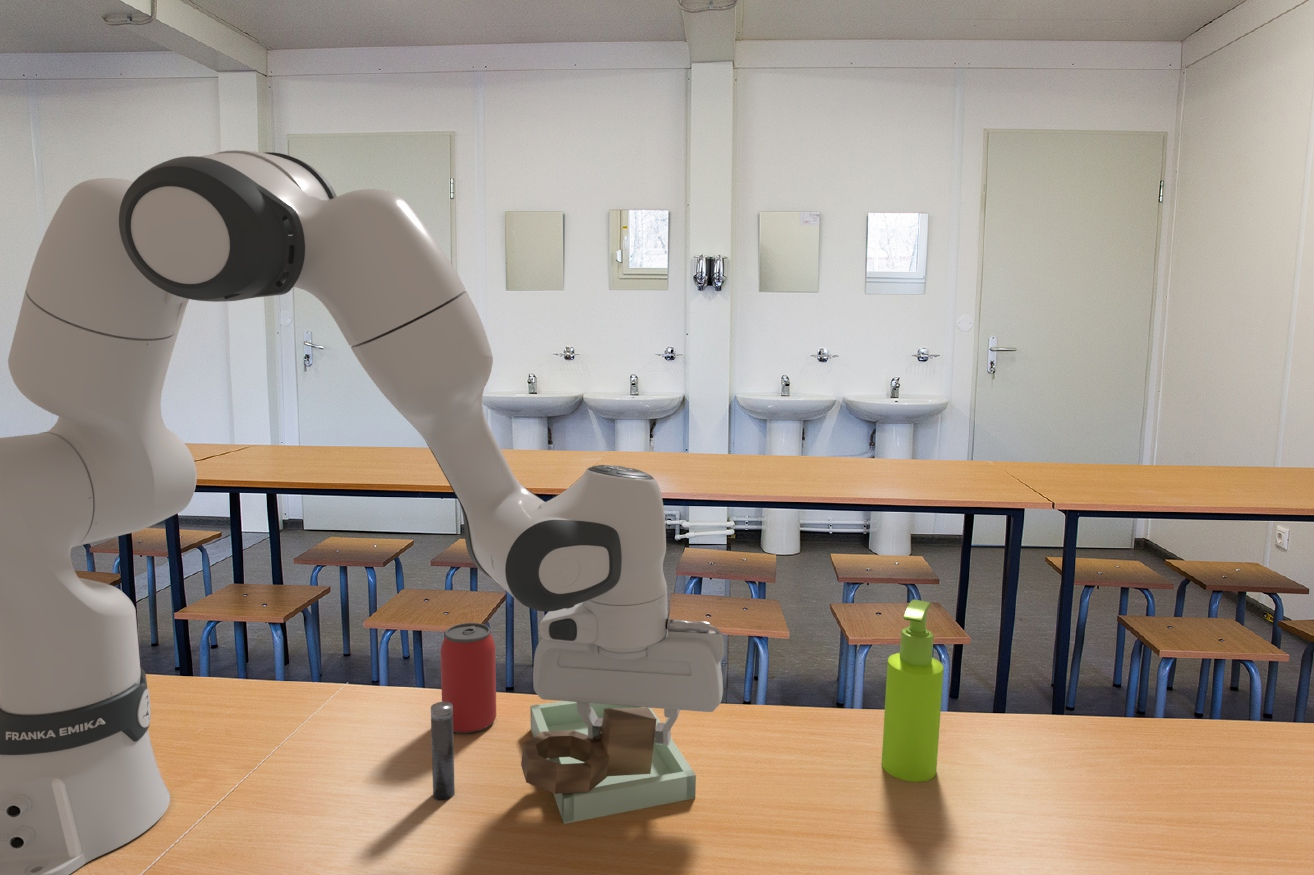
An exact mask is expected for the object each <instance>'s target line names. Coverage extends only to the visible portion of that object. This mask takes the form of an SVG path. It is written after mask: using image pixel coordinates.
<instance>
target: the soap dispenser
mask: <svg viewBox="0 0 1314 875" xmlns="http://www.w3.org/2000/svg"><path fill="white" fill-rule="evenodd" d="M930 607H931V602H929V601H925V600H918V599H912V600H910V602H909V603H908V605H907V607H906V610H905V612H904V615H903V620H904V621H908V622H909V626H907V627H904V628H902V629H901V632H900V646H899V652H896V653H893V654H891V655H889V656H888V658H887V668H886V683H885V698H884V699H885V700H884V701H885V702H884V716H883V730H882V731H883V732H882V746H881V747H882V750H881V766H882V767H881V768H882V769H883V770H884V771H885V772H886V773H888V775H890V776H891V777H894V778H896V779H900V780H901V781H902V780H903V781H906V782H914V783H918V782H919V783H921V782H922V783H923V782H927V781H931V779H933V778H935V777H936V775H937V765H938V755H939V753H938V752H939V751H938V750H939V738H940V737H939V736H940V724H941V711H942V710H941V709H942V698H943V697H942V696H943V681H944V680H943V679H944V665H943V664H942V662H941V661H939V660H938V659H936V658H934V657H933V648H934V647H933V646H934V633H933V632H932V631H931V630H929V629H927V616H928V611H929V610H930Z"/></svg>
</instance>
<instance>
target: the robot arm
mask: <svg viewBox="0 0 1314 875" xmlns="http://www.w3.org/2000/svg"><path fill="white" fill-rule="evenodd" d="M51 218H52V219H51V220H50V223H49V225H48V227H47V228H46V230H45V232H44V235H43V238H42V239H41V241H40V245H39V247H38V248H37V252H36V254H35V257H34V261H33V263H32V266H31V268H30V273H29V276H28V280H27V283H26V287H25V291H24V294H23V297H22V298H23V299H22V302H21V306H20V311H19V313H18V315H19V316H18V319H17V323H16V327H15V331H14V335H13V338H12V342H11V345H10V350H9V354H8V359H7V364H8V369H9V373H10V376H11V378H12V380H13V383H14V385H15V386H16V388H17V389H18V390H19V392H20V393H21V394H22V395H23V396H24V397H25V398H26V399H28V401H30V402H31V403H33V404H34V405H36V406H38V407H39V408H41V409H43V410H45V411H46V412H48V413H50V414H52V415H55V416H56V417H58V418H57V420H56V422H55V424H54V425H53V426H52V427H51V428H50V429H49V430H47V431H43V432H39V433H35V434H33V433H32V434H23V435H17V436H16V435H14V436H7V437H6V436H5V437H0V875H71V874H72V873H73V872H75V871H76V870H78V869H79V868H81V867H82V866H84V865H85V864H87V863H88V862H91V861H92V860H94V859H96V858H98V857H100V856H103V855H105V854H108V853H110V852H112V851H114V850H116V849H118V848H120V847H122V846H124V845H125V844H128V843H129V842H131V841H133V840H134V839H136V838H138V837H139V836H140V835H142V834H143V833H145V832H146V831H147V830H149V829H150V828H151V827H152V826H154V825H155V824H156V823H157V822H158V821H159V820H160V819H161V818H162V816H163V815H164V814H165V813H166V812H167V809H168V807H169V805H170V804H171V803H170V802H171V792H170V791H169V788H168V787H167V785H166V784H165V781H164V779H163V777H162V775H161V771H160V769H159V766H158V763H157V760H156V757H155V753H154V749H153V746H152V742H151V738H150V737H151V736H150V733H149V732H150V731H149V727H150V723H151V715H152V714H151V712H152V711H151V698H150V690H149V688H148V682H147V674H146V672H145V670H144V669H143V668H141V659H140V647H139V635H138V623H137V612H136V607H135V605H134V603H133V601H132V600H131V599H130V598H129V597H128V596H127V595H126V594H125V593H124V592H123V591H122V590H121V589H119V588H117V587H116V586H115V585H114V586H113V585H111V584H108V583H105V582H102V581H98V580H93V579H92V580H91V579H87V578H82V577H79V576H78V574H77V573H76V570H75V569H74V565H73V563H72V555H71V551H72V548H74V547H78V546H83V545H86V544H90V543H95V542H100V541H102V540H104V541H105V540H108V539H112V538H116V537H119V536H124V535H127V534H128V535H129V534H132V533H136V532H140V531H143V530H145V529H147V528H150V527H151V526H154V525H156V524H159V523H160V522H162V521H164V520H167V519H169V518H170V517H173V516H175V515H178V514H179V513H181V512H182V511H184V510H185V509H186V508H187V507H188V505H189V504H190V502H191V501H192V499H193V496H194V493H195V490H196V485H197V482H198V481H197V480H198V479H197V478H198V476H197V475H198V473H197V466H196V462H195V459H194V456H193V454H192V453H191V451H190V449H189V448H188V446H187V445H186V444H185V442H184V441H183V440H182V439H181V438H180V437H179V436H178V435H177V434H176V433H174V432H172V431H171V430H170V429H169V428H168V427H167V426H166V424H165V423H164V420H163V416H162V410H161V408H162V406H161V402H162V391H163V388H164V384H165V380H166V376H167V372H168V369H169V366H170V362H171V358H172V355H173V351H174V348H175V345H176V341H177V339H178V335H179V332H180V329H181V326H182V323H183V319H184V315H185V314H186V313H185V312H186V309H187V305H188V303H189V301H190V300H191V301H192V300H193V301H199V302H200V301H201V302H214V303H216V302H221V303H224V302H236V301H242V300H243V301H244V300H248V299H255V298H264V297H272V296H281V295H285V294H287V293H289V292H291V290H292V289H293V288H297V289H300V290H304V291H305V292H308V293H309V294H311V295H313V296H314V297H315V298H317V300H318V301H319V302H320V303H322V304H323V306H324V307H325V308H326V309H327V311H328V313H329V314H330V315H331V317H332V318H333V320H334V321H335V323H336V324H337V327H338V328H339V330H340V332H341V334H342V335H343V337H344V339H345V341H346V342H347V344H348V345H349V347H350V349H351V351H352V352H353V354H354V356H355V357H356V359H357V360H358V362H359V363H360V365H361V366H362V368H363V370H364V371H365V373H367V375H368V377H369V378H370V379H371V380H372V382H373V384H374V385H375V386H376V387H377V388H378V390H379V391H380V392H381V393H382V395H383V396H384V397H385V398H386V399H387V400H388V402H390V404H391V405H392V406H393V407H394V408H395V409H396V410H397V411H398V413H399V414H401V416H402V417H403V418H404V419H405V420H406V421H408V422H409V424H411V425H412V427H413V428H414V429H415V430H416V431H417V433H418V434H419V435H420V436H421V438H422V439H423V440H424V441H425V443H426V445H427V447H428V449H429V450H430V451H431V453H432V455H433V457H434V459H435V461H436V462H437V464H438V466H439V468H440V470H441V471H442V473H443V475H444V476H445V479H446V481H447V482H448V484H449V485H450V488H451V489H452V491H453V493H454V495H455V497H456V499H457V500H458V503H459V505H460V508H461V513H462V520H463V531H464V539H465V546H466V550H467V553H468V556H469V558H470V560H471V562H472V563H473V564H474V566H475V567H476V569H478V570H479V571H481V572H482V573H483V574H485V575H486V576H487V577H489V578H490V579H492V580H494V581H495V582H496V584H497V583H498V585H499V586H500V587H501V588H503V590H505V591H506V592H507V593H508V594H509V595H510V596H511V597H512V598H514V599H515V600H516V601H517V602H519V603H521V604H522V605H523V606H525V607H526V608H528V609H531V610H533V611H537V612H545V613H546V614H545V615H544V617H543V618H542V619H541V621H540V622H539V627H538V628H539V634H540V638H541V640H540V641H539V642H538V644H537V646H536V648H535V652H534V658H533V672H532V676H533V677H532V682H533V684H532V685H533V691H534V692H535V693H536V695H537V696H538V697H539V698H540V699H541V700H544V701H545V700H546V701H556V702H560V701H570V702H577V711H578V713H579V714H580V716H581V717H582V719H583V720H584V722H585V723H586V725H588V738H589V739H593V740H601V736H602V735H601V732H602V723H603V718H598V717H597V715H596V713H595V711H594V709H593V708H592V704H593V703H596V704H609V705H622V706H635V707H648V708H651V709H662V710H663V711H664V712H663V714H664V715H663V716H664V717H665V718H667V719H666V720H665V722H661V723H657V725H656V729H655V730H654V737H655V745H665V746H669V743H670V740H671V739H672V727H673V726H674V724H675V723H676V721H677V720H678V717H679V715H680V711H687V712H688V711H690V712H703V713H712V712H714V711H715V710H716V709H717V708H718V707H719V706H720V705H721V702H722V699H723V694H724V683H723V681H724V679H723V673H722V664H721V661H722V660H723V659H724V656H725V650H726V649H725V648H726V646H725V637H724V635H723V633H722V631H721V630H720V629H719V628H717V627H716V626H713V625H711V623H710V621H709V622H708V621H705V620H697V621H690V620H685V619H674V618H673V619H672V618H668V615H669V614H668V586H667V581H666V579H665V578H666V577H665V575H664V566H663V565H664V560H665V556H666V552H667V538H666V537H667V534H666V519H665V508H664V502H663V497H662V492H661V488H660V486H659V483H658V481H657V479H655V478H654V477H653V476H652V475H650V474H648V472H645V471H643V470H639V469H636V468H631V467H625V466H620V465H612V464H610V465H609V464H606V465H605V464H601V465H593V466H590V467H588V468H586V470H585V472H583V474H582V476H581V477H579V479H577V481H575V482H574V483H573V484H572V485H571V486H570V487H568V488H567V489H566V490H564V491H563V492H561V493H560V494H558V495H557V496H554V497H553V498H551V499H549V500H547V501H545V500H543V499H542V498H541V497H539V496H538V495H536V494H535V493H533V492H532V491H530V490H529V489H527V488H526V487H525V486H524V485H523V484H522V483H520V481H518V479H517V478H516V476H515V475H514V473H513V471H512V469H511V467H510V465H509V463H508V461H507V460H506V457H505V455H504V453H503V451H502V449H501V447H500V446H499V445H500V444H498V441H497V440H496V437H495V435H494V434H493V432H492V429H491V428H490V425H489V424H488V421H487V419H486V416H485V413H484V408H483V394H484V390H485V387H486V385H487V383H488V381H489V379H490V376H491V374H492V368H493V364H494V363H493V362H494V356H493V353H492V350H491V346H490V343H489V340H488V337H487V333H486V330H485V327H484V325H483V322H482V319H481V317H480V315H479V313H478V311H477V308H476V307H475V304H474V302H473V301H472V298H471V297H470V295H469V293H468V291H467V290H466V287H465V285H464V284H463V282H462V280H461V278H460V277H459V275H458V273H457V272H456V269H455V268H454V266H453V265H452V263H451V261H450V260H449V257H447V255H446V253H445V252H444V251H443V249H442V247H441V246H440V244H439V243H438V242H437V240H436V238H435V237H434V236H433V235H432V233H431V231H430V230H429V229H428V227H427V226H426V224H425V223H424V222H423V221H422V219H420V218H421V217H419V215H417V213H416V212H415V211H414V209H412V207H411V206H410V205H409V204H408V203H407V201H405V200H404V199H403V198H402V197H400V196H399V195H397V194H396V193H393V192H391V191H389V190H384V189H375V188H372V189H371V188H367V189H366V188H365V189H364V188H363V189H359V190H357V189H356V190H352V191H349V192H345V193H343V194H340V195H337V193H336V192H335V189H334V188H333V187H332V185H331V184H330V182H329V181H328V180H327V179H326V178H325V176H324V175H322V174H321V172H319V171H318V170H317V169H315V168H314V167H313V166H312V165H310V164H309V163H307V162H305V161H303V160H300V159H299V158H296V157H294V156H291V155H288V154H285V153H280V152H270V151H269V152H266V151H264V152H262V151H261V152H260V151H252V150H239V149H237V150H224V151H219V152H215V153H212V154H205V155H200V156H194V155H191V156H189V155H188V156H180V157H175V158H171V159H168V160H166V161H163V162H161V163H158V164H156V165H154V166H153V167H150V168H149V169H147V170H146V171H145V172H143V173H142V174H139V176H138V177H137V178H136V179H135V180H128V179H123V178H114V177H113V178H112V177H102V178H101V177H100V178H92V179H88V180H85V181H82V182H79V183H77V184H76V185H73V187H72V188H71V189H69V190H68V191H67V193H66V194H65V196H64V197H63V199H62V201H61V202H60V204H59V206H58V208H57V210H56V211H55V213H54V215H53V217H51Z"/></svg>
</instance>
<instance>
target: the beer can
mask: <svg viewBox="0 0 1314 875" xmlns="http://www.w3.org/2000/svg"><path fill="white" fill-rule="evenodd" d="M492 635H493V634H492V629H491V627H489V626H488V625H486V624H484V623H479V622H464V623H458V624H455V625H452V626H450V627H449V628H447V629H445V631H444V638H443V641H442V643H441V646H440V678H441V679H440V680H441V683H440V685H441V702H450V703H452V705H453V733H458V734H459V733H460V734H471V733H476V732H480V731H483V730H485V729H486V728H488V727H490V726H491V725H492V724H493V723H494V722H495V721H496V717H497V680H496V679H497V677H496V676H497V674H496V669H497V668H496V665H497V664H496V662H497V660H496V659H497V658H496V644H495V641H494V638H493V636H492Z"/></svg>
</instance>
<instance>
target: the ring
mask: <svg viewBox="0 0 1314 875" xmlns="http://www.w3.org/2000/svg"><path fill="white" fill-rule="evenodd" d="M656 720H657V719H656V718H655V716H654V715H653V714H652V712H651V711H650V709H649V708H648V707H642V708H608V709H604V714H603V723H602V732H601V735H602V736H601V740H593V739H589V738H588V735H586V734H583V733H580V732H577V731H574V730H570V731H544V732H541V733H539V734H538V735H536V736H534V737H533V736H532V737H531V738H530V739H528V740H526V741H525V742H523V744H522V752H521V753H522V754H521V761H520V766H521V770H522V773H523V776H524V779H525V780H524V781H525V783H527V784H529V785H531V786H534V787H536V788H539V789H541V790H544V791H547V792H549V793H552V794H553V793H554V794H560V793H576V792H589V791H590V790H592V789H593V788H594V787H596V786H597V785H598V784H599V783H601V782H602V781H603V780H604V779H606V778H607V776H623V775H640V774H650V773H651V764H652V755H653V747H654V738H655V737H654V730H655V729H656ZM557 757H571V758H574V759H577V760H579V761H582V762H585V763H573V764H558V763H555V762H553V761H550V760H547V759H546V758H557ZM554 794H553V795H554Z"/></svg>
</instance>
